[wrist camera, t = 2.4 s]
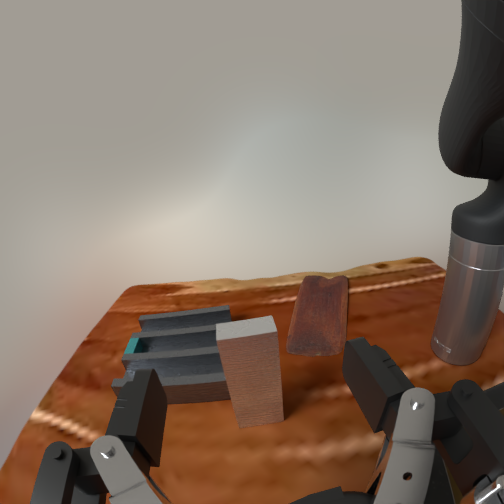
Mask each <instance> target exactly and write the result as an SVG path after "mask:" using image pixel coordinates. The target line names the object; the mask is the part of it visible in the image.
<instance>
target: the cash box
mask: <svg viewBox="0 0 504 504" xmlns="http://www.w3.org/2000/svg"><path fill="white" fill-rule="evenodd" d="M483 392H484V393H485V394H486V395H487V396H488V398H489V399H490V400H491V401H492V402H493V404H494V405H495V406H496V407H497V409H498V410H499V411H500V412H501V414H502V415H503V416H504V382H503V383H501V384H498V385H496V386H494V387H492V388H489V389H487V390H485V391H483ZM464 429H465V428H464ZM466 432H467V431H466ZM467 433H468V432H467ZM468 435H469V434H468ZM469 436H470V435H469ZM470 438H471V437H470ZM471 439H472V438H471ZM472 441H473V440H472ZM431 444H434V442H433V441H431ZM434 445H435V444H434ZM378 457H379V456H378ZM462 498H463V495H462V493H461V492H460V490H459V488H458V486H457V484H456V482H455V480H454V478H453V476H452V474H451V473H450V471H449V469H448V467H447V465H446V464H445V462H444V460H443V458H442V456H441V455H440V453H439V451H438V449H437V448H436V446H435V453H434V459H433V465H432V470H431V475H430V480H429V484H428V489H427V493H426V497H425V500H424V504H460V502H461V499H462Z"/></svg>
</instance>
